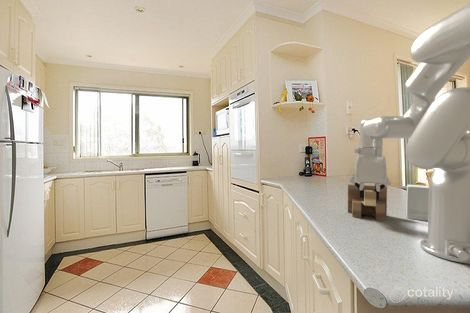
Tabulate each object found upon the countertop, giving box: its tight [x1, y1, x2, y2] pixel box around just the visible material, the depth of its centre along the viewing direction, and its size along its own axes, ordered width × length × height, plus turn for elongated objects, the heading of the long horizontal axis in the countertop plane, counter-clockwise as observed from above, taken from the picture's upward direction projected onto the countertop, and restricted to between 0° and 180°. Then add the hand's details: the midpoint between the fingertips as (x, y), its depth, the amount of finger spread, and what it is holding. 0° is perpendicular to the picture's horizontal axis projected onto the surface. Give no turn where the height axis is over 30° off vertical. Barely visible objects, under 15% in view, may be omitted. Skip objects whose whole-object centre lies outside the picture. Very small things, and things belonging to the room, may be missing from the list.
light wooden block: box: [361, 189, 376, 206], centre depth 86 cm, size 12×4×5 cm, turn 156°
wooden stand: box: [347, 183, 388, 221], centre depth 91 cm, size 8×14×12 cm, turn 65°
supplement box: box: [405, 184, 429, 222], centre depth 88 cm, size 7×7×13 cm
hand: (368, 200), depth 85 cm, fingers closed on light wooden block, 3 cm apart
